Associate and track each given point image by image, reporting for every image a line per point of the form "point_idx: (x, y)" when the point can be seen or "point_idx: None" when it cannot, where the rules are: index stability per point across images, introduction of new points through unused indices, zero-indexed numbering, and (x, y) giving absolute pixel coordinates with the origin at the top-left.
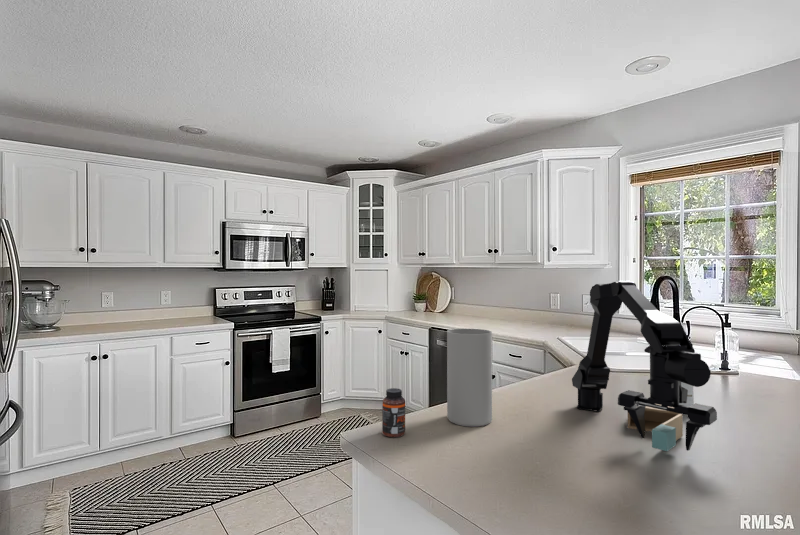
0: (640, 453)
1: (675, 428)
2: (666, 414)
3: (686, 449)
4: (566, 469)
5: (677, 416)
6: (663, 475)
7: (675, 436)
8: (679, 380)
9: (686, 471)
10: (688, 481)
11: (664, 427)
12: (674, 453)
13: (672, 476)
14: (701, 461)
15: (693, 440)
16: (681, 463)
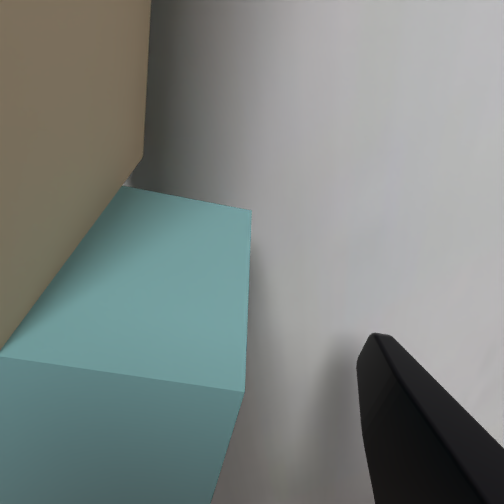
0: None
1: (243, 390)
2: None
3: (359, 375)
4: None
5: None
6: (239, 491)
7: (246, 281)
8: None
9: (333, 422)
10: (338, 491)
11: (78, 462)
12: (242, 186)
13: (274, 484)
14: (452, 235)
15: (469, 423)
16: (306, 346)
